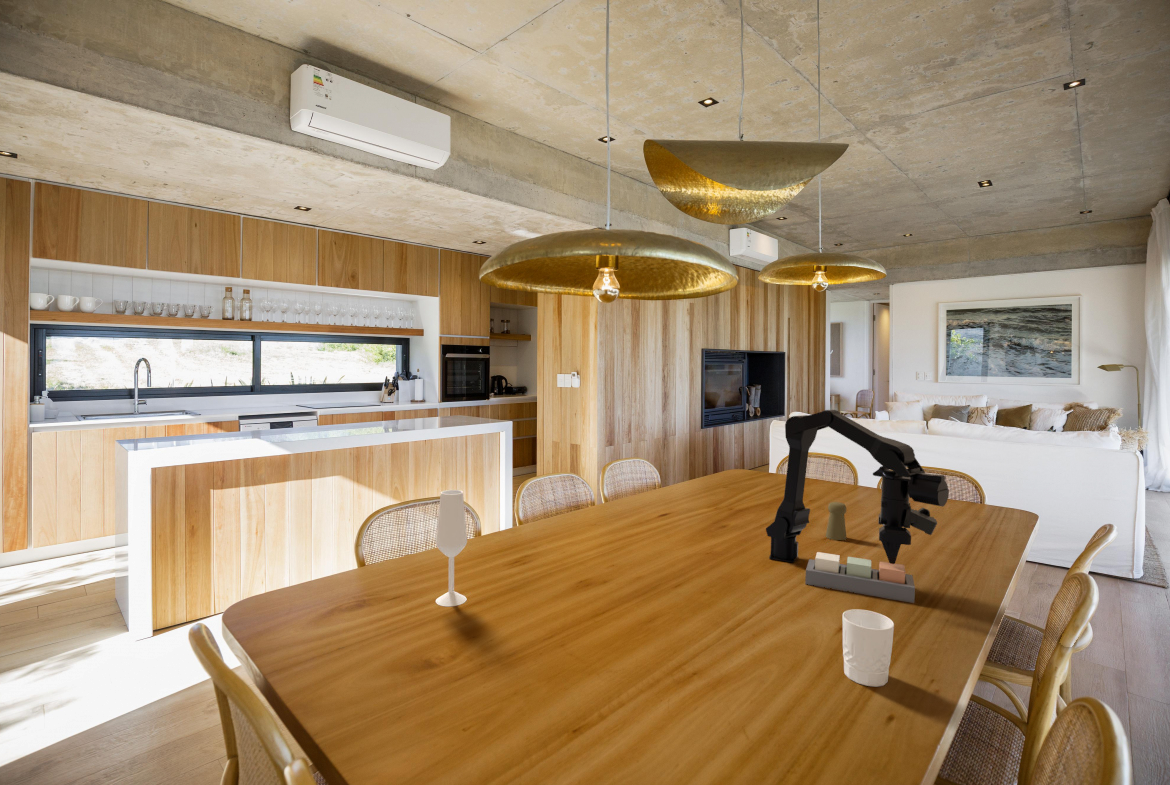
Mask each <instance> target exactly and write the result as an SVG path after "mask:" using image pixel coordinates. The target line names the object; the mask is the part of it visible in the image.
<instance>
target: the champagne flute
mask: <svg viewBox="0 0 1170 785" xmlns="http://www.w3.org/2000/svg"><path fill="white" fill-rule="evenodd" d="M439 498H440V499H439V507H438V516H437V525H436V537H435V544H436V547H437V548H438V551H440V553H442V554H443V555H445V557H448V591H447V592H446V593H444V594H442V595H441V596H439V597H437V598H436V599H435V603H436V604H437V605H438V606H441V607H456V606H460V605H462V604H464V603H466V601H467V597H466V595H463V594H461V593H459V592H457V591H455V557H457V556H458V555H459V554H460V553H461V552H462V551H463V549H464V548H465V547H466V546H467V543H468V535H467V524H466V523H467V521H466V512H465V501H464V499H465V498H464V491H463V490H459V489H448V490H446V489H445V490H443V491H442V490H441V491H440V497H439Z"/></svg>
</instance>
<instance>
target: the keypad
mask: <svg viewBox="0 0 1170 785" xmlns="http://www.w3.org/2000/svg"><path fill="white" fill-rule="evenodd" d="M846 573H847V564H844V563H839V573H834V572H828V571H821V570H815V559H810V558H809V559H808V562H807V565H806V569H805V579H804V580H805V585H807V584H808V586H813V585H814V586H813V587H819V588H824V587H825V588H826V589H830V588H832V590H836V589H837V590H836V591H842V590H843V591H842V592H847V591H849V593H853V592H854V594H859V595H864V596H871V597H877V598H883V599H889V600H894V601H901V602H906V603H912V604H914V603H915V596H916V595H915V594H916V592H915V591H916V586H915V581H914V575H912V574H910V573H909V574H907V573H905V584H901V583H895V582H889V581H883V580H879V569H876V568H871V578H864V577H858V576H852V575H846Z"/></svg>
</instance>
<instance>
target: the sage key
mask: <svg viewBox="0 0 1170 785" xmlns="http://www.w3.org/2000/svg"><path fill="white" fill-rule="evenodd" d="M846 565H847V573H846V575H852V576H858V577H864V578H871V569H872V560H871V559H869V558H868V559H867V558H861V557H854V556H847V560H846Z"/></svg>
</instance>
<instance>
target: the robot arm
mask: <svg viewBox="0 0 1170 785" xmlns="http://www.w3.org/2000/svg"><path fill="white" fill-rule="evenodd" d="M784 428H785V431H784V432H785V440H786V442H787V445H788V447H789V448H788V450H789V451H788V459H787V467H786V477H785V486H784V493H783V494H784V496H783V500H781V503H780V505H779V506H778V507H777V510H776V514H775V518H774V521H773V522H771V523H770V524H769V525H768V526H767V527H766V528H765V532H766V534H767V535H766V536H767V537H769V538H770V554H769V556H768V559H770V560H774V561H775V560H776V561H780V562H781V561H782V562H785V563H795V561H796V560H797V559H798V557H799V541H797V536H800V535H801V533H802V531H803V530H804V529H805V528H806V527H807V524H810V520H809V518H810V512H811V509H810V508H807V507H806V506H805V503H804V495H805V494H804V493H805V485H806V474H807V469H808V468H807V467H808V457H809V451H810V449H811V446H812V445H813V443H814V442H815V441H816V437H817V433H818V431H820V430H823V429H826V428H830V429H831V430H833V431H835V432H836V433H837V434H838V433H839V435H841V436H843V437H844V438H846V439H848V440H850V441H852V443H855V444H856V445H858V446H859V447H862V448H863V449H865V450H866V451H867V452H869V454H870V455H871V456H872V458H873V459H874V460H875V461H876V462H878V464H880V467H879V468H878V469H877V470H875V471H873V472H872V476H875V477H878V478H879V477H880V478H881V493H880V494H881V497H880V513H878V521H877V522H878V525H882V526H881V527H879V528H878V534H879V535H878V541H879V542H881V544H882V547H883V549H884V552H885V555H886V557H887V560H888V563H890V564H896V561H897V558H898V556H899V552H900V549H901V545H905V546H910V545H911V544H912V535H911V531H909V529H911V527H913V528H914V529H918V530H920V531H922V532H924V533H925V534H926V535H929V536H931V535H933V533H934V531H935V529H936V527H937V525H938V521H937V519H936V518H934V516H931V514H930V513H931V512H930V509H927V508H925V507H921V508H920V509H918V510H917V509H914V508H912V506H911V503H910V499H912V500H913V502H916V503H922V504H925V505H926V504H927V505H932V506H937V507H942V508H943V507H944V506H945V505H946V504H947V502H948V500H949V495H950V489H949V488H948V483H947V481H946V476H945V475H942V474H931V473H926V471H925V470H924V468H923V467H922V465H921V464H920V462H919V461H918V460H917V458H916V455H915V450H914V449H913V447H912V446H910V445H909V444H907V443H904V442H901V441H899V440H896V439H893V438H889V437H885V436H882V435H879V434H878V433H876V432H874V431H872V430H870V429H868V428H866V427H865V426H863V425H862V424H860V423H858V422H856V421H854V420H853V419H851V418H849V417H848V416H846V415H844V414H843V413H841V412H840V411H838V410H836V409H825V410H822V411H819V412H816V413H813V414H804V415H794V416H793V415H792V416H790V417H789V418H788V419H786V420H785V424H784Z"/></svg>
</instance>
